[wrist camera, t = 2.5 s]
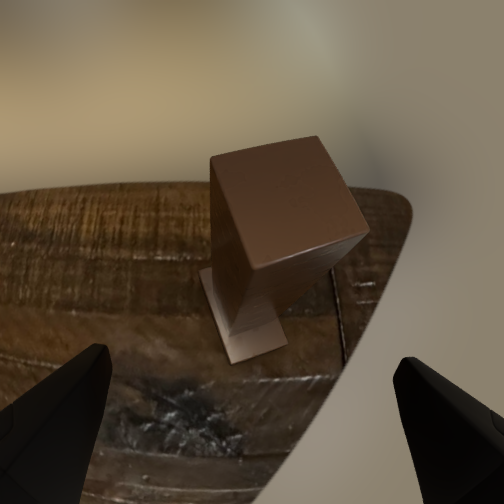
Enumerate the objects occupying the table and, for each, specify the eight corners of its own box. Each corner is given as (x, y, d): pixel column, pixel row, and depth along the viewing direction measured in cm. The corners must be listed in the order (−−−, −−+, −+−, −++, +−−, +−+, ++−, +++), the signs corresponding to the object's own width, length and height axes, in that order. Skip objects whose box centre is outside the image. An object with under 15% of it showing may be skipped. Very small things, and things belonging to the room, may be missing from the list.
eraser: (282, 346, 19) (415, 290, 6) (229, 365, 19) (263, 359, 5) (250, 262, 21) (303, 92, 8) (199, 278, 20) (176, 114, 7)
